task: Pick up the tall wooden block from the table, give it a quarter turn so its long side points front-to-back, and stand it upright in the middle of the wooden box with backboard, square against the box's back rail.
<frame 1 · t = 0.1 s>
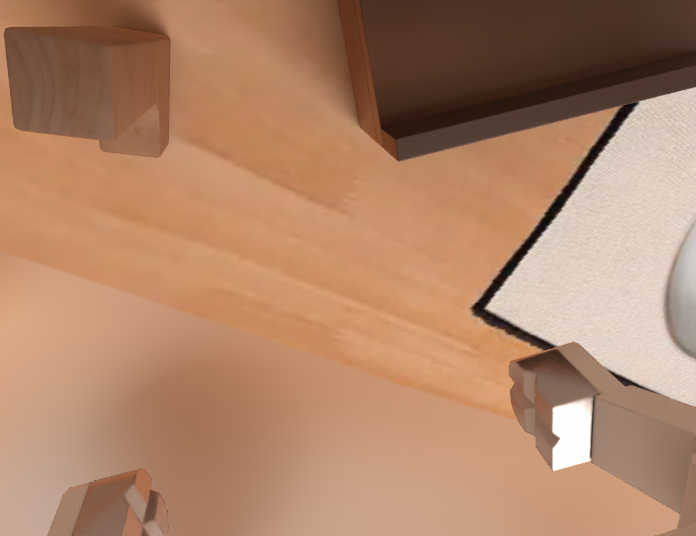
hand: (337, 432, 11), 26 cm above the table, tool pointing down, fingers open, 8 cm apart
wooden block: (142, 88, 31), on the table
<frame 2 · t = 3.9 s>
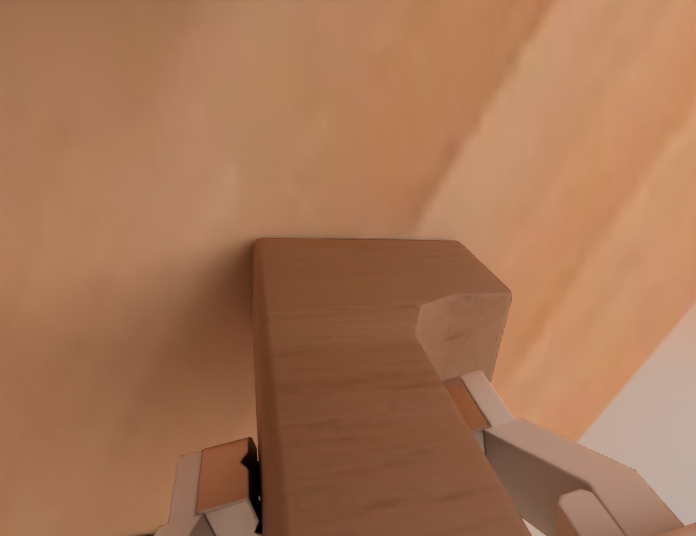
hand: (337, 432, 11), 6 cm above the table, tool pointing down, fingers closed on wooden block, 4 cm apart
wooden block: (355, 281, 16), on the table, touching gripper
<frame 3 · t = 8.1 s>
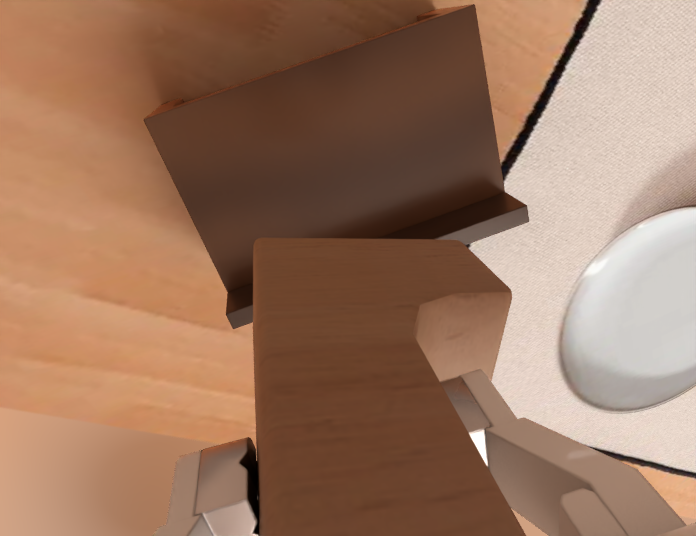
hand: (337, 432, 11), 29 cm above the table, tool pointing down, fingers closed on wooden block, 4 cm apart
wooden block: (355, 280, 16), point 23 cm above the table, touching gripper
wooden box with backboard: (329, 147, 37), on the table
when the fingers open (12 cm above the table, at t = 12.5 s): wooden block stays where it is, resting on wooden box with backboard.
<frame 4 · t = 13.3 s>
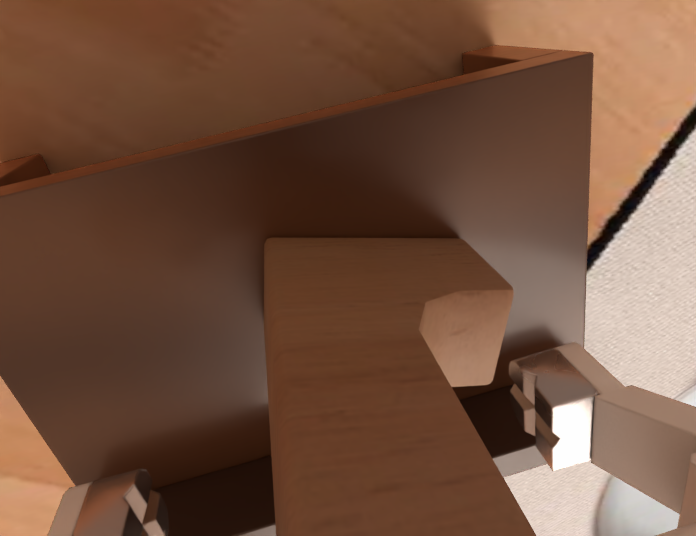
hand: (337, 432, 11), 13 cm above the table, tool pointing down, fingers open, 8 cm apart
wooden block: (362, 278, 17), point 6 cm above the table, touching wooden box with backboard
wooden box with backboard: (297, 246, 23), on the table
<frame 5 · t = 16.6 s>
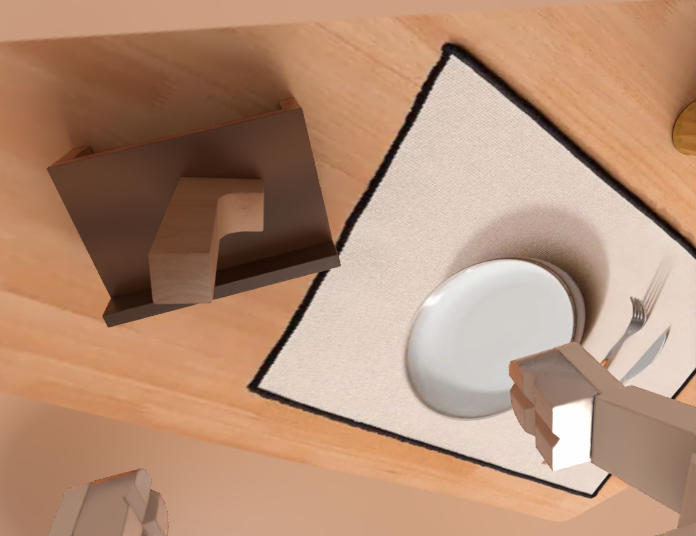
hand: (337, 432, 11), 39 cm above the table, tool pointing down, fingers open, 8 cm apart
wooden block: (222, 196, 41), point 6 cm above the table, touching wooden box with backboard
wooden box with backboard: (208, 190, 47), on the table
vase: (695, 126, 54), on the table
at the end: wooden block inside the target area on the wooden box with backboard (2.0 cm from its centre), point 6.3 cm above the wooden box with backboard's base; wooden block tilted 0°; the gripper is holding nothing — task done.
